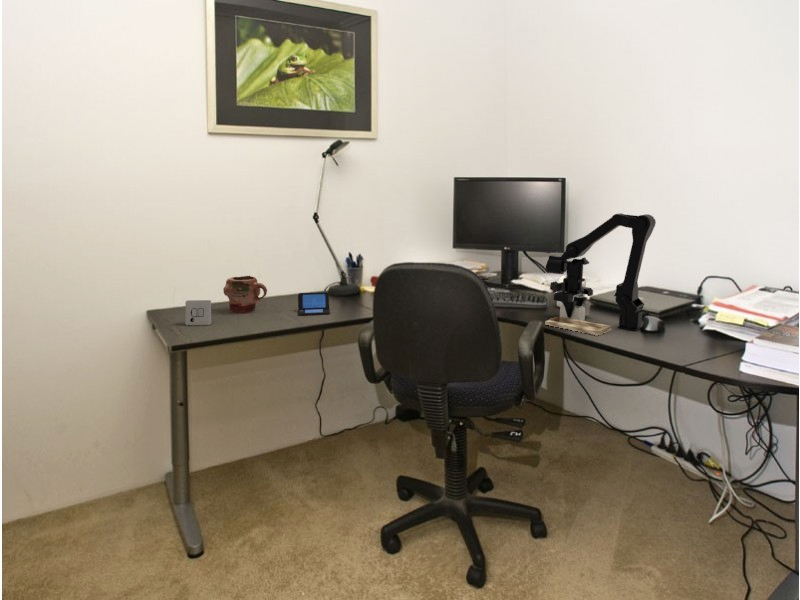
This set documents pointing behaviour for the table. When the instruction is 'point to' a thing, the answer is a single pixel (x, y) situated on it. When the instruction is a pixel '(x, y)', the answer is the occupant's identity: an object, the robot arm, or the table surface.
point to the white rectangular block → (574, 312)
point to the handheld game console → (313, 304)
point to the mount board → (578, 325)
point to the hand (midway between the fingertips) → (572, 316)
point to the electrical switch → (198, 312)
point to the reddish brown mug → (243, 293)
